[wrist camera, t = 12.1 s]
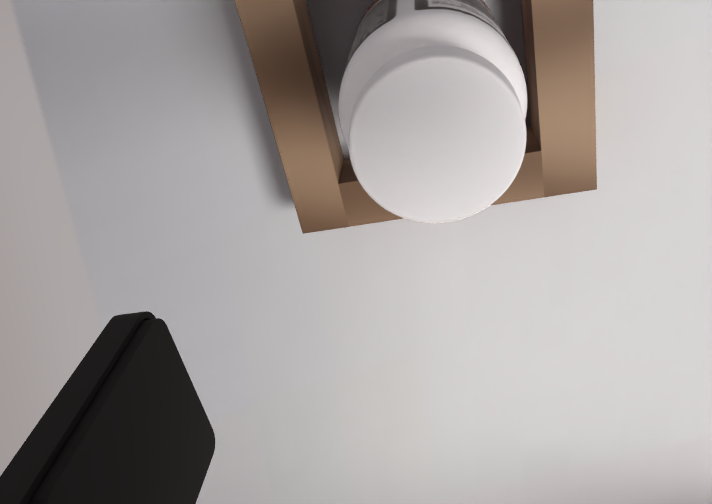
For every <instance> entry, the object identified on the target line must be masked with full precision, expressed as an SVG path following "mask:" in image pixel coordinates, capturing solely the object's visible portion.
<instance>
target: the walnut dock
mask: <svg viewBox="0 0 712 504" xmlns="http://www.w3.org/2000/svg"><path fill="white" fill-rule="evenodd" d="M521 2H522V15H523V29H524V42H525V56H526V69H527V83H528V96H529V110H530V123H531V128H526V148H525V154H524V158H523V161H522V164H521V167H520V169H519V171H518V173H517V175H516V177H515V179H514V180H513V182H512V183H511V185H510V186H509V187H508V189H507V190H506V191H505V192H504V193H503V194H502V195H501V196H500V197H499V198H498V199H497V200H496V201H495V202H494V203H492V204H491V205H496V204H502V203H509V202H516V201H522V200H529V199H535V198H542V197H549V196H555V195H562V194H569V193H575V192H582V191H589V190H595V189H597V176H596V124H595V72H594V20H593V0H521ZM235 3H236V6H237V10H238V13H239V17H240V20H241V23H242V27H243V30H244V34H245V37H246V40H247V44H248V47H249V51H250V54H251V58H252V61H253V64H254V68H255V71H256V75H257V78H258V82H259V85H260V88H261V92H262V95H263V99H264V102H265V105H266V109H267V112H268V116H269V119H270V123H271V126H272V129H273V133H274V136H275V140H276V143H277V146H278V150H279V153H280V157H281V160H282V164H283V167H284V170H285V174H286V177H287V181H288V184H289V188H290V191H291V194H292V198H293V201H294V205H295V208H296V211H297V215H298V218H299V222H300V225H301V229H302V232H303V233H310V232H316V231H323V230H330V229H336V228H343V227H350V226H356V225H363V224H369V223H376V222H383V221H389V220H396V219H403V218H402V217H400V216H397V215H395V214H393V213H391V212H389V211H387V210H385V209H384V208H383V207H381V206H380V205H379V204H378V203H376V202H375V201H374V200H373V199H372V198H371V197H370V196H369V195H368V194H367V192H366V191H365V190H364V189H363V187H362V186H361V184H360V182H359V181H358V179H357V177H356V175H355V172H354V170H353V167H352V164H351V160H350V158H349V159H344V158H343V154H342V150H341V146H340V141H339V137H338V133H337V129H336V125H335V120H334V116H333V112H332V108H331V104H330V99H329V95H328V91H327V87H326V83H325V78H324V74H323V70H322V66H321V62H320V57H319V53H318V49H317V45H316V41H315V36H314V32H313V28H312V24H311V20H310V15H309V11H308V7H307V3H306V0H235Z"/></svg>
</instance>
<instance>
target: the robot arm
mask: <svg viewBox="0 0 712 504" xmlns="http://www.w3.org/2000/svg"><path fill="white" fill-rule="evenodd" d="M214 450H215V436H214V432H213V429H212V427H211V424H210V422H209V420H208V418H207V415H206V413H205V411H204V409H203V406H202V404H201V402H200V400H199V397H198V395H197V393H196V391H195V388H194V386H193V384H192V381H191V379H190V377H189V375H188V372H187V370H186V368H185V366H184V363H183V361H182V359H181V357H180V354H179V352H178V350H177V348H176V345H175V343H174V341H173V339H172V336H171V334H170V332H169V330H168V327H167V325H166V324H165V322H164V321H163V320H162V319H159V318H158V319H156V318H155V316H154V315H153V314H152V313H150V312H147V311H146V312H138V313H131V314H123V315H117V316H114V317H113V318H112V319H111V320H110V321H109V323H108V324H107V325H106V327H105V328H104V330H103V331H102V333H101V334H100V335H99V337H98V338H97V340H96V341H95V343H94V344H93V345H92V347H91V348H90V350H89V351H88V353H87V354H86V356H85V357H84V358H83V360H82V361H81V362H80V364H79V365H78V367H77V368H76V370H75V371H74V373H73V374H72V375H71V377H70V378H69V380H68V381H67V383H66V384H65V385H64V387H63V388H62V390H61V391H60V392H59V394H58V396H57V397H56V398H55V399H54V401H53V402H52V404H51V405H50V407H49V408H48V409H47V411H46V412H45V414H44V415H43V417H42V418H41V419H40V421H39V422H38V424H37V425H36V427H35V428H34V429H33V431H32V432H31V434H30V435H29V436H28V438H27V439H26V441H25V442H24V444H23V445H22V447H21V448H20V449H19V451H18V452H17V454H16V455H15V456H14V458H13V459H12V461H11V462H10V464H9V465H8V466H7V468H6V469H5V471H4V472H3V474H2V475H1V476H0V504H196V501H197V498H198V495H199V492H200V490H201V487H202V484H203V481H204V479H205V476H206V473H207V470H208V467H209V465H210V462H211V459H212V456H213V453H214Z"/></svg>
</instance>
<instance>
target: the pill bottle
mask: <svg viewBox="0 0 712 504" xmlns="http://www.w3.org/2000/svg"><path fill="white" fill-rule="evenodd" d="M526 113H527V89H526V82H525V78H524V74H523V71H522V68H521V65H520V63H519V61H518V58H517V56H516V54H515V52H514V50H513V49H512V47H511V45H510V44H509V42H508V41H507V39H506V37H505V36H504V34H503V32H502V30H501V29H500V27H499V25H498V24H497V22H496V20H495V18H494V17H493V15H492V13H491V11H490V10H489V8H488V7H487V6H486V4H485V3H484V2H483V1H482V0H375V1H374V2H373V4H372V5H371V6H370V7H369V9H368V10H367V11H366V13H365V14H364V16H363V18H362V20H361V22H360V24H359V26H358V28H357V31H356V34H355V37H354V41H353V44H352V48H351V51H350V54H349V57H348V61H347V64H346V68H345V71H344V74H343V78H342V82H341V87H340V94H339V119H340V125H341V129H342V133H343V136H344V139H345V141H346V144H347V146H348V148H349V154H350V160H351V164H352V167H353V170H354V172H355V175H356V177H357V179H358V181H359V182H360V184H361V186H362V187H363V189H364V190H365V191H366V192H367V194H368V195H369V196H370V197H371V198H372V199H373V200H374V201H375V202H376V203H378V204H379V205H380V206H381V207H383V208H384V209H385V210H387V211H389V212H391V213H393V214H395V215H397V216H400V217H402V218H405V219H408V220H412V221H417V222H421V223H446V222H452V221H457V220H461V219H464V218H467V217H469V216H472V215H474V214H476V213H478V212H480V211H482V210H484V209H485V208H487V207H488V206H490V205H491V204H492V203H494V202H495V201H496V200H497V199H498V198H499V197H500V196H501V195H502V194H503V193H504V192H505V191H506V190H507V189H508V187H509V186H510V185H511V183H512V182H513V180H514V179H515V177H516V175H517V173H518V171H519V169H520V167H521V164H522V161H523V158H524V154H525V148H526V123H525V118H526Z"/></svg>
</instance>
